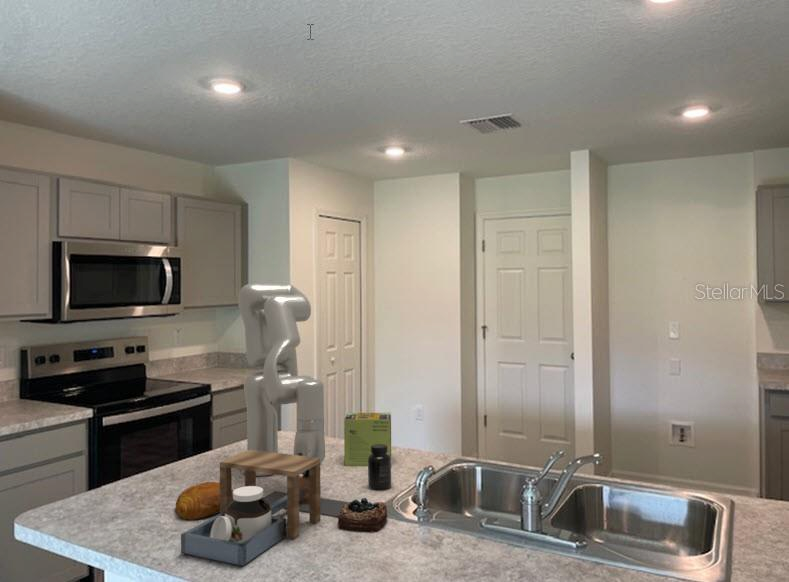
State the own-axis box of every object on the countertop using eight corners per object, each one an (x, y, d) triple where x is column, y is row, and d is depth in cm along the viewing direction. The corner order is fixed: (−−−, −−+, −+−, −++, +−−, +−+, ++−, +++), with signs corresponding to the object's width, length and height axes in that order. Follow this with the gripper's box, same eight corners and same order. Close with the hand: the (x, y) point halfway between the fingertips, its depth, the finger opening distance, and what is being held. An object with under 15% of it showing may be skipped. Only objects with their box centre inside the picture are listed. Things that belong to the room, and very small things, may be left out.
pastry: (380, 534, 141) (380, 510, 141) (332, 530, 143) (332, 506, 143) (390, 517, 151) (390, 494, 151) (345, 513, 154) (345, 491, 154)
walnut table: (220, 525, 146) (219, 461, 146) (249, 508, 157) (249, 449, 157) (294, 539, 138) (294, 471, 138) (320, 520, 149) (320, 458, 149)
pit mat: (253, 503, 161) (253, 502, 161) (274, 492, 170) (274, 490, 170) (338, 517, 151) (338, 516, 151) (356, 504, 160) (356, 503, 160)
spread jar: (276, 538, 139) (276, 488, 139) (246, 558, 128) (245, 504, 128) (234, 530, 143) (234, 482, 143) (202, 549, 133) (201, 497, 133)
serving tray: (181, 552, 130) (180, 522, 130) (278, 496, 165) (278, 473, 165) (242, 565, 124) (242, 534, 124) (330, 504, 159) (330, 480, 159)
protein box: (390, 466, 195) (390, 418, 195) (344, 466, 195) (343, 418, 195) (391, 457, 205) (391, 412, 205) (347, 457, 205) (346, 412, 205)
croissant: (243, 517, 158) (247, 486, 158) (188, 525, 146) (193, 492, 147) (215, 502, 168) (219, 473, 168) (162, 509, 156) (166, 478, 157)
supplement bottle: (392, 483, 177) (392, 443, 177) (390, 490, 171) (389, 449, 171) (369, 482, 178) (369, 442, 178) (366, 490, 171) (366, 448, 171)
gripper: (312, 418, 173) (312, 480, 173) (283, 429, 160) (283, 497, 160) (335, 420, 170) (335, 484, 171) (307, 431, 157) (307, 501, 157)
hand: (310, 490), depth 165 cm, fingers closed
